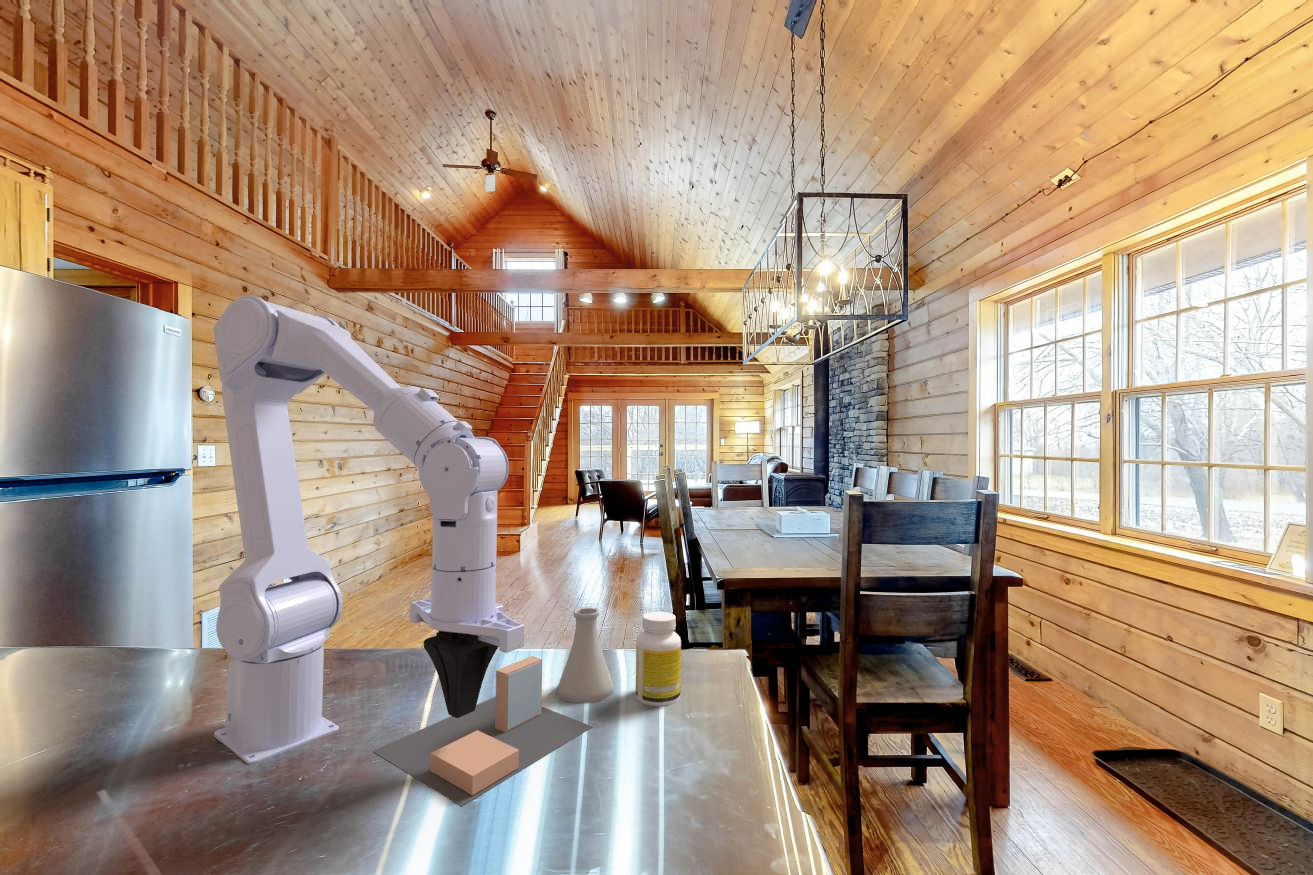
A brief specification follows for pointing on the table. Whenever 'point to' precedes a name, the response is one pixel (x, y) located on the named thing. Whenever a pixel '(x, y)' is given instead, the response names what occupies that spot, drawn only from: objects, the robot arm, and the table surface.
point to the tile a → (474, 761)
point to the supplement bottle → (658, 660)
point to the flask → (585, 663)
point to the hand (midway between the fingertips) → (462, 712)
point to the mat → (527, 738)
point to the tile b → (518, 693)
